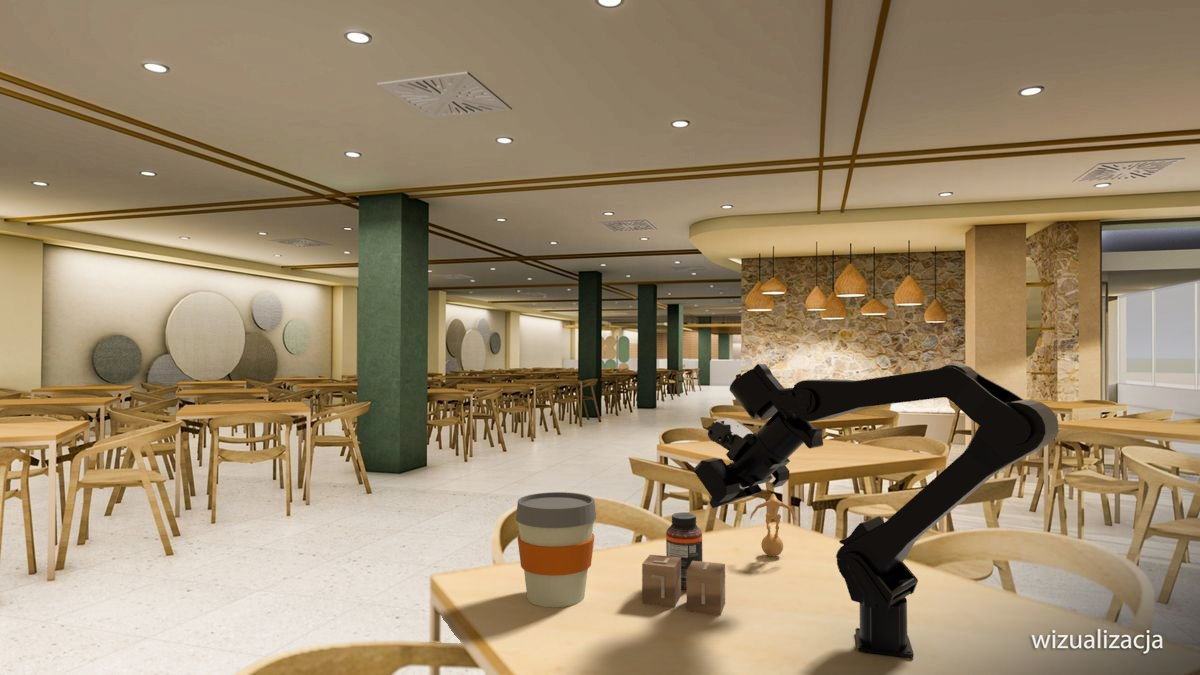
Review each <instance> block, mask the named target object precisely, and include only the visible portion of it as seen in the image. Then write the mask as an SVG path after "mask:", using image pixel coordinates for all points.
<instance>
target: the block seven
mask: <svg viewBox="0 0 1200 675" xmlns="http://www.w3.org/2000/svg"><path fill="white" fill-rule="evenodd" d="M641 565H642V566H641V568H642V569H641V576H642V578H641V582H642V583H641V585H642V586H641V591H642V592H641V602H642V604H645V605H652V606H662V607H667V608H670V607H671V608H675V607H676V605H677V604H678V602H679V600H680V598H681V597H682V589H681V557H670V556H666V555H659V554H658V555H657V554H649V555H648V557H647V558H646V559H645V560H644V561H643V562H642V564H641Z"/></svg>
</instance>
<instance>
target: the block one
mask: <svg viewBox="0 0 1200 675" xmlns="http://www.w3.org/2000/svg"><path fill="white" fill-rule="evenodd" d="M686 572H687V589H686V612H689V613H695V614H696V613H697V614H698V613H700V614H705V615H713V616H722V613H723V610H724V608H725V605H726V564H725V563H722V562H721V563H720V562H711V561H703V562H701V561H692V562H691V564H690V566H689V567H688V569H687V571H686Z"/></svg>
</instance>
